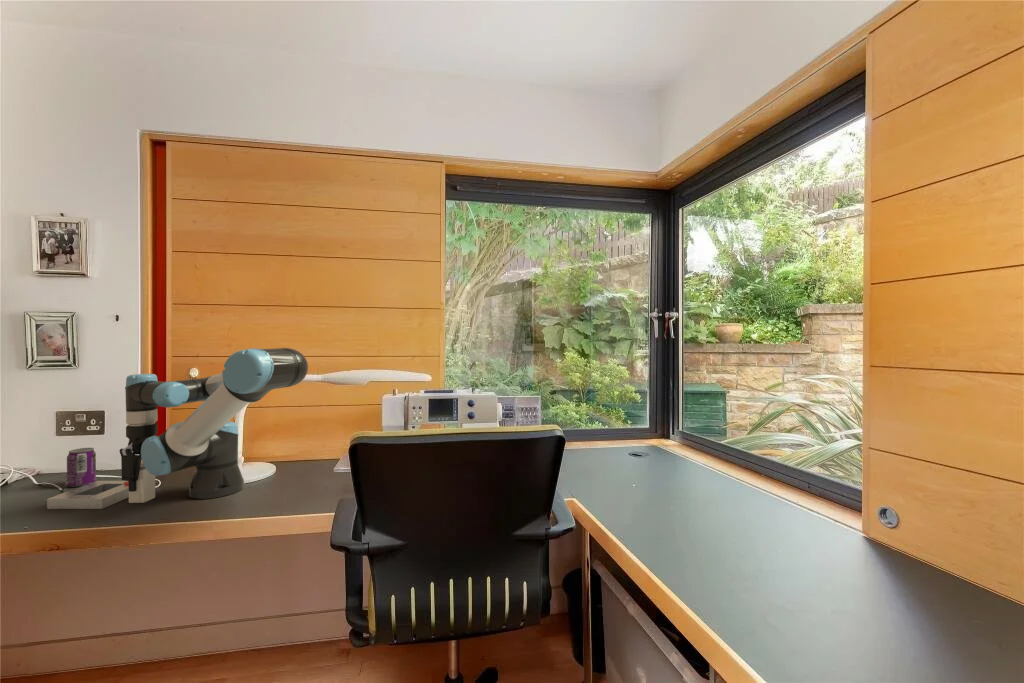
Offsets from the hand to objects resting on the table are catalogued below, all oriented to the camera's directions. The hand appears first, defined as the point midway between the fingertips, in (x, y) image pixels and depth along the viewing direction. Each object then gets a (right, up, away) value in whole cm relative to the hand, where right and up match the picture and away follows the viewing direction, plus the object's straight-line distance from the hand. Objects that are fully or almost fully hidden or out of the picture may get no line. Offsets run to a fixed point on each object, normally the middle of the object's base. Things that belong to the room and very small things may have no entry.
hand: (142, 497), depth 136 cm
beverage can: (-32, 0, +13) cm, 35 cm away
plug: (0, -1, 0) cm, 1 cm away
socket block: (-14, -1, +1) cm, 14 cm away
